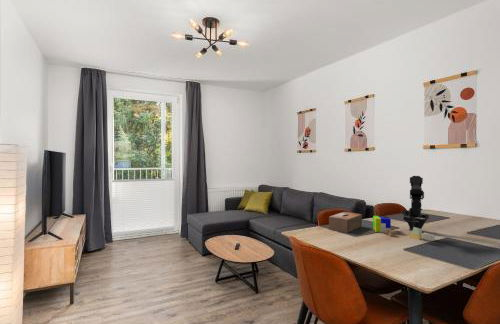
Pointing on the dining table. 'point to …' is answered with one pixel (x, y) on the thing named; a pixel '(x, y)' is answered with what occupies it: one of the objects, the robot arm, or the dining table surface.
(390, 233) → the walnut brick
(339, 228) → the tissue box cover
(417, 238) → the mustard brick
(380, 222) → the puzzle toy
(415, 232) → the sage brick
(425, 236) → the grey brick
